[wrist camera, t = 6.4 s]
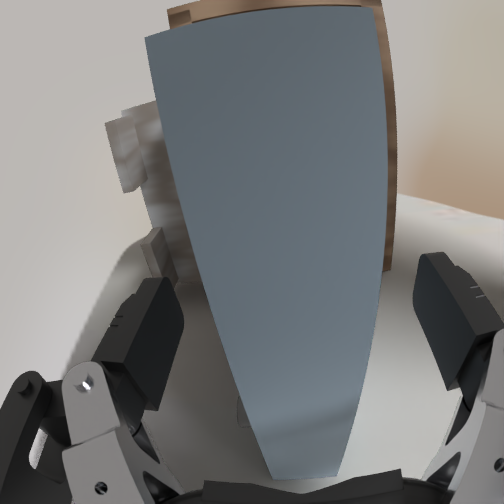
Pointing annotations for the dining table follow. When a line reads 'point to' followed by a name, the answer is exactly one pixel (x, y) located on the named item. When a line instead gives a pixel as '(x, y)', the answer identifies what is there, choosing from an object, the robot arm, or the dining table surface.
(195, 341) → the dining table surface
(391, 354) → the dining table surface
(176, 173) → the door
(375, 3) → the cabinet
